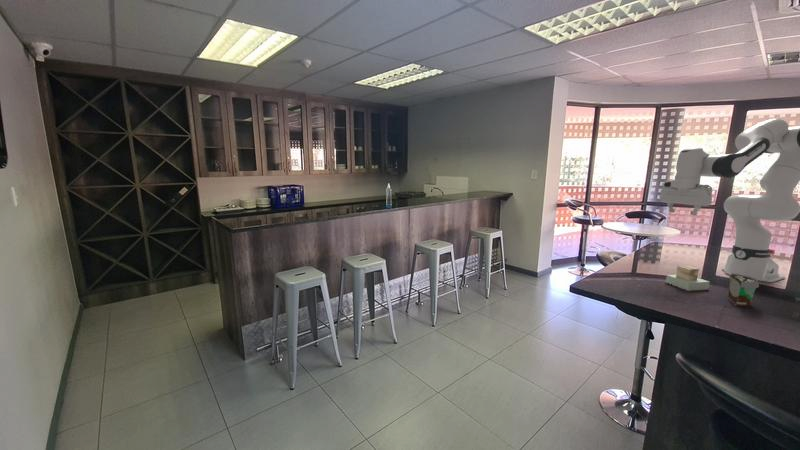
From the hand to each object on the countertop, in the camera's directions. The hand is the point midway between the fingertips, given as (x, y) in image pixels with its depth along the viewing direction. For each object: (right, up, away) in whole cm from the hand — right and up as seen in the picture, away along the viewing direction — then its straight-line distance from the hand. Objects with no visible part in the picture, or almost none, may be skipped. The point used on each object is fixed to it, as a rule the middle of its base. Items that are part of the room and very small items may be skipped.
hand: (682, 213), depth 148 cm
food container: (+1, -36, -25) cm, 44 cm away
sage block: (-5, -33, -7) cm, 34 cm away
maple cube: (-5, -29, -8) cm, 31 cm away
